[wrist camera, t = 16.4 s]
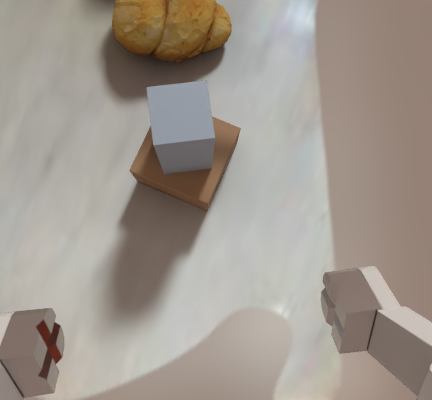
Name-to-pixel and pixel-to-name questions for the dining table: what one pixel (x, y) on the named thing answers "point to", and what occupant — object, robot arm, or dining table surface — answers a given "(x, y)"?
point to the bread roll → (170, 27)
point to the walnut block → (191, 180)
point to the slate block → (182, 126)
